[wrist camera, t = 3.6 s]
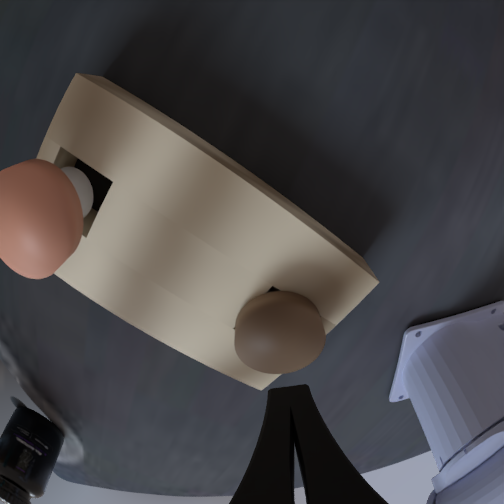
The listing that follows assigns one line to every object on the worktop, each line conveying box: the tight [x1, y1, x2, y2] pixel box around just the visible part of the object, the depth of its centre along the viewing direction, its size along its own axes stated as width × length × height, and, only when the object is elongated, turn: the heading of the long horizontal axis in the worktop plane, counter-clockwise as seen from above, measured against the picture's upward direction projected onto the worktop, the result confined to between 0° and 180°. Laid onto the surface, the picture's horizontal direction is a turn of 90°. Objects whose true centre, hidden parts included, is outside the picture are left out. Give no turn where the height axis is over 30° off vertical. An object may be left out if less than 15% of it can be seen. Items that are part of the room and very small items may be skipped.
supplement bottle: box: [0, 407, 64, 504], centre depth 19 cm, size 7×7×12 cm
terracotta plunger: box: [0, 159, 93, 279], centre depth 10 cm, size 4×4×4 cm
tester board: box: [36, 73, 379, 390], centre depth 14 cm, size 16×9×2 cm, turn 54°
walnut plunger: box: [234, 286, 326, 374], centre depth 15 cm, size 4×4×4 cm
